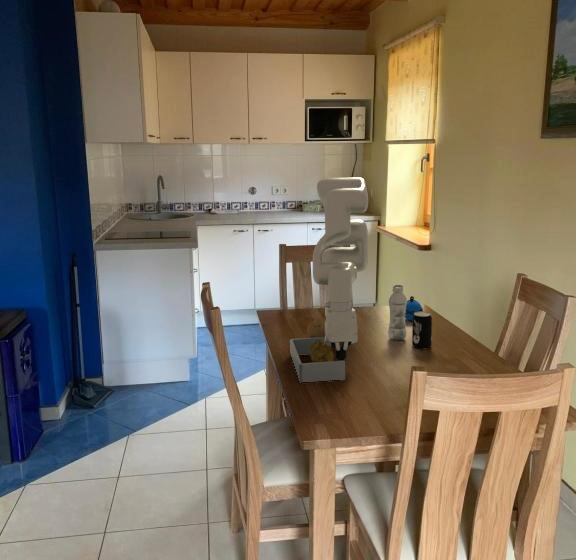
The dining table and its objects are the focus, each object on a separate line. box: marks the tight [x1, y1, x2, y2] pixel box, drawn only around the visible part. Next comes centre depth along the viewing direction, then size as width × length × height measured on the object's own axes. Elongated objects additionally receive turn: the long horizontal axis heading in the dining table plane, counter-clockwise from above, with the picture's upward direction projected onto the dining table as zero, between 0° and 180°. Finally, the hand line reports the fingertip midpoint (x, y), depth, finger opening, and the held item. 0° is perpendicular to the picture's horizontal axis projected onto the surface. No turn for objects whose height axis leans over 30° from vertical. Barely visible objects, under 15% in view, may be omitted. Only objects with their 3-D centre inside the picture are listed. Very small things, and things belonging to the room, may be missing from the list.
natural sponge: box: [306, 318, 325, 338], centre depth 199 cm, size 9×9×10 cm
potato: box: [309, 340, 335, 363], centre depth 179 cm, size 8×13×8 cm, turn 172°
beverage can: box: [411, 310, 433, 350], centre depth 194 cm, size 7×7×12 cm
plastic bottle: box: [387, 284, 408, 341], centre depth 202 cm, size 6×7×20 cm
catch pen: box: [289, 337, 346, 383], centre depth 179 cm, size 24×14×6 cm, turn 7°
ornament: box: [405, 295, 424, 322], centre depth 225 cm, size 9×9×10 cm
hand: (341, 360), depth 180 cm, fingers closed
